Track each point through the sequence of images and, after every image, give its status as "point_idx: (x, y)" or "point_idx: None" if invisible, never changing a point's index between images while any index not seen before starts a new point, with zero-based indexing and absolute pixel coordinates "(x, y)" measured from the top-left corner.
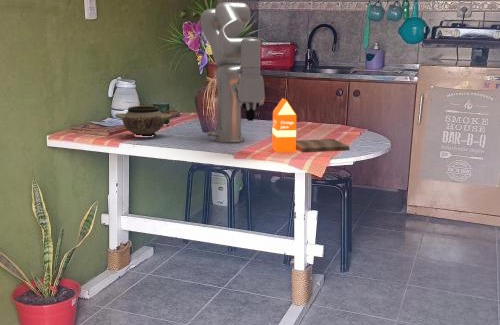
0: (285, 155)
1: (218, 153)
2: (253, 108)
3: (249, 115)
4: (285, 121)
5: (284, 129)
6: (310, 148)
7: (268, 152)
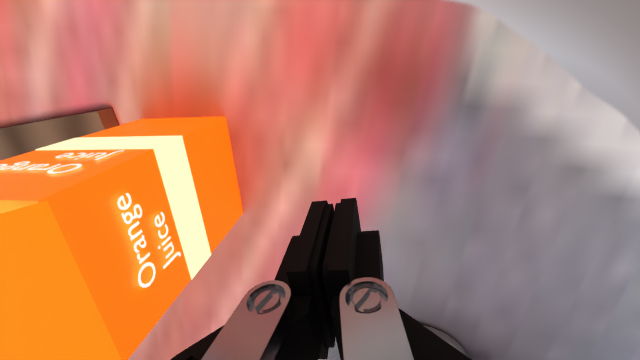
0: (182, 35)
1: (542, 112)
2: (275, 303)
3: (350, 226)
4: (35, 173)
5: (99, 150)
6: (63, 117)
7: (264, 117)
